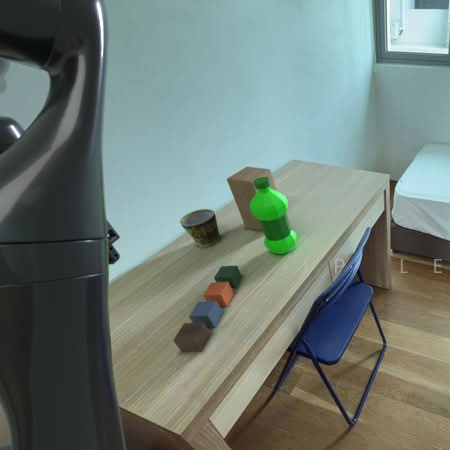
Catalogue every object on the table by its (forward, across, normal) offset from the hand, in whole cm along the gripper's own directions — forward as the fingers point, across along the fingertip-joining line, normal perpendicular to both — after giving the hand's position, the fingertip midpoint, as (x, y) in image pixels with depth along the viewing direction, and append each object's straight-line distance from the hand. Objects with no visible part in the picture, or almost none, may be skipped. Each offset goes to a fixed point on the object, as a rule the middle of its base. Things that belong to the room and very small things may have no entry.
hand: (92, 262), depth 58 cm
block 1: (+25, -9, -19) cm, 33 cm away
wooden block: (+25, -9, -50) cm, 57 cm away
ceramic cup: (+25, +7, -39) cm, 47 cm away
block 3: (+26, -10, -6) cm, 28 cm away
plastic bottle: (+25, -20, -34) cm, 47 cm away
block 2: (+26, -10, -13) cm, 30 cm away
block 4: (+26, -10, 0) cm, 27 cm away
